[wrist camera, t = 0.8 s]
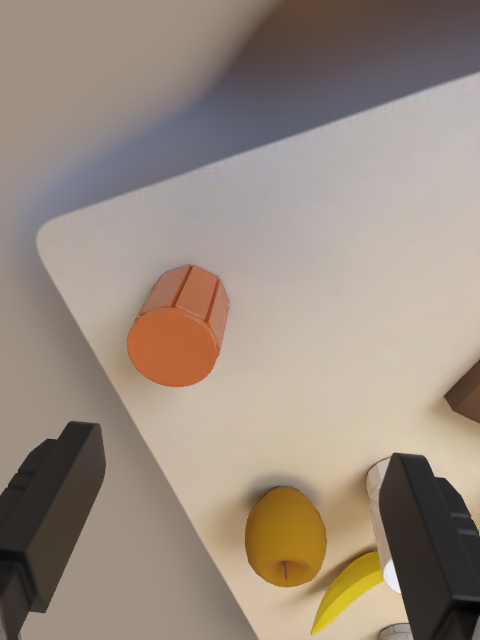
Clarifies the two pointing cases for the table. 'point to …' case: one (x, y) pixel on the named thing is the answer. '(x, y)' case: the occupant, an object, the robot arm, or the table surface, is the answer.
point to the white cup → (381, 524)
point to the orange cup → (180, 328)
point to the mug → (397, 632)
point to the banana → (348, 588)
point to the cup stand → (467, 395)
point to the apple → (285, 538)
